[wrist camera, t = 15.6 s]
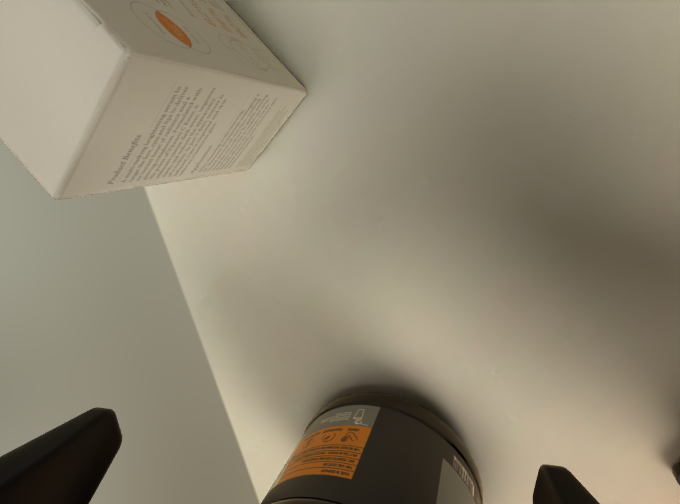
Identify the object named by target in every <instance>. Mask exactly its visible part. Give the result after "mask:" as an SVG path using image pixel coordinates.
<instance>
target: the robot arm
mask: <svg viewBox="0 0 680 504" xmlns="http://www.w3.org/2000/svg"><path fill="white" fill-rule="evenodd" d="M121 442H122V434H121V430H120V427H119V424H118V420H117V417H116V414H115V412H114V411H113V410H111V409H105V408H93V409H91V410H89V411H87V412H85V413H83V414H81V415H79V416H77V417H76V418H74V419H72V420H70V421H68V422H66V423H64V424H62V425H60V426H58V427H56V428H54V429H52V430H51V431H49V432H47V433H45V434H43V435H41V436H39V437H37V438H35V439H34V440H31V441H30V442H28V443H26V444H24V445H22V446H20V447H18V448H16V449H14V450H12V451H11V452H9V453H7V454H5V455H3V456H1V457H0V504H89V502H90V500H91V498H92V497H93V495H94V493H95V491H96V490H97V488H98V486H99V484H100V482H101V480H102V479H103V477H104V475H105V473H106V472H107V470H108V468H109V466H110V464H111V463H112V461H113V459H114V457H115V455H116V454H117V452H118V450H119V448H120V445H121ZM673 475H674V477H675V479H676V480H677V482H678V484H679V485H680V462H679V463H678V464H677V465H676V466H675V468H674V469H673ZM533 504H600V503H599V502H598V501H597V500H596V499H595V498H594V497H593V496H592V495H591V494H590V493H589V492H588V491H587V490H586V488H585V487H584V486H583V485H582V484H581V483H580V482H579V481H578V480H577V479H576V478H575V477H574V476H573V474H572V473H571V472H570V471H569V470H567V469H566V468H564V467H561V466H554V465H546V464H545V465H542V466H541V467H540V469H539V472H538V476H537V480H536V484H535V488H534V493H533Z"/></svg>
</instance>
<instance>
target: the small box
mask: <svg viewBox="0 0 680 504" xmlns="http://www.w3.org/2000/svg"><path fill="white" fill-rule="evenodd" d="M306 94H307V90H306V89H305V88H304V87H303V86H302V85H301V84H300V83H299V82H298V80H297V79H296V78H295V77H294V76H293V75H292V74H291V73H290V72H289V71H288V70H287V69H286V67H285V66H284V65H283V64H282V63H281V62H280V61H279V60H278V59H277V58H276V57H275V56H274V54H273V53H272V52H271V51H270V50H269V49H268V48H267V47H266V46H265V45H264V44H263V42H262V41H261V40H260V39H259V38H258V37H257V36H256V35H255V34H254V33H253V32H252V30H251V29H250V28H249V27H248V26H247V25H246V24H245V23H244V22H243V21H242V19H241V18H240V17H239V16H238V15H237V14H236V13H235V12H234V11H233V10H232V9H231V8H230V7H229V6H228V5H227V3H226V2H225V1H224V0H0V139H1V140H2V141H3V142H4V143H5V144H6V145H7V147H8V148H9V149H10V150H11V151H12V152H13V153H14V154H15V156H16V157H17V158H18V159H19V160H20V162H22V164H23V165H24V166H25V167H26V168H27V169H28V171H29V172H30V173H31V174H32V175H33V176H34V178H35V179H36V180H37V181H38V182H39V183H40V184H41V185H42V186H43V188H44V189H45V190H46V191H47V192H48V194H49V195H50V196H51V197H52V198H54V199H57V200H61V199H69V198H74V197H81V196H87V195H93V194H100V193H106V192H111V191H119V190H125V189H131V188H137V187H144V186H150V185H157V184H164V183H169V182H176V181H182V180H188V179H195V178H201V177H207V176H214V175H220V174H226V173H232V172H239V171H245V170H247V169H248V168H249V167H250V166H251V165H252V163H253V162H254V161H255V160H256V158H257V157H258V156H259V155H260V153H261V152H262V151H263V149H264V148H265V147H266V146H267V144H268V143H269V142H270V141H271V139H272V138H273V137H274V136H275V134H276V133H277V132H278V130H279V129H280V128H281V127H282V125H283V124H284V123H285V121H286V120H287V119H288V118H289V116H290V115H291V114H292V112H293V111H294V110H295V108H296V107H297V106H298V105H299V103H300V102H301V101H302V99H303V98H304V97H305V96H306Z"/></svg>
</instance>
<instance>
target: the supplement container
mask: <svg viewBox="0 0 680 504" xmlns="http://www.w3.org/2000/svg"><path fill="white" fill-rule="evenodd" d="M261 504H483V489H482V484H481V479H480V475H479V472H478V469H477V467H476V464H475V462H474V460H473V458H472V456H471V454H470V452H469V451H468V449H467V447H466V446H465V445H464V443H463V442H462V440H461V439H460V438H459V437H458V436H457V434H456V433H455V432H454V431H453V430H452V429H451V428H450V427H449V426H448V425H447V424H446V423H444V422H443V421H442V420H441V419H440V418H438V417H437V416H435V415H434V414H433V413H431V412H430V411H428V410H426V409H425V408H423V407H421V406H419V405H417V404H415V403H413V402H411V401H408V400H406V399H403V398H400V397H396V396H393V395H388V394H382V393H356V394H350V395H347V396H344V397H341V398H338V399H336V400H334V401H332V402H331V403H329V404H327V405H326V406H325V407H323V408H322V409H321V410H320V411H319V412H318V413H317V414H316V415H315V416H314V417H313V419H312V420H311V422H310V423H309V425H308V426H307V428H306V430H305V432H304V434H303V437H302V439H301V440H300V442H299V443H298V445H297V447H296V448H295V450H294V451H293V453H292V455H291V456H290V458H289V460H288V461H287V463H286V464H285V466H284V468H283V469H282V471H281V472H280V474H279V476H278V477H277V479H276V480H275V482H274V484H273V485H272V487H271V488H270V490H269V492H268V493H267V495H266V496H265V498H264V500H263V501H262V503H261Z"/></svg>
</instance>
